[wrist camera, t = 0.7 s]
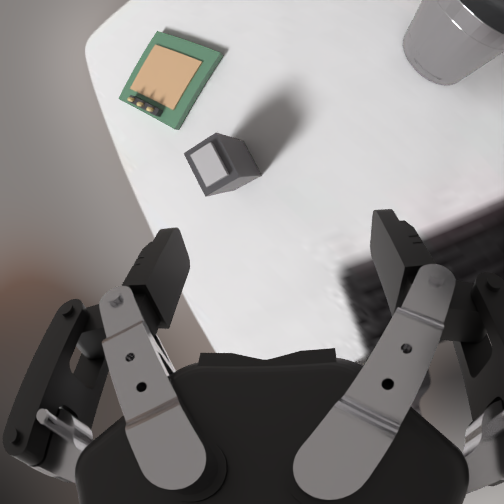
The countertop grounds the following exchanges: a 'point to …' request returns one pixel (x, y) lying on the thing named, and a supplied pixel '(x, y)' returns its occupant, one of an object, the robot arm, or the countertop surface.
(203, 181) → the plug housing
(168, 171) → the countertop surface
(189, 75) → the circuit board
